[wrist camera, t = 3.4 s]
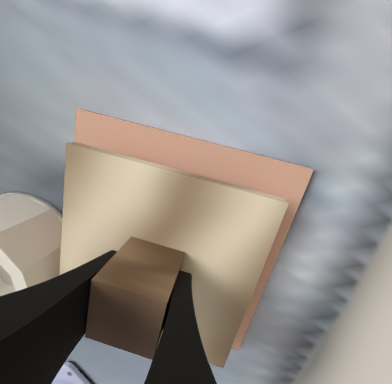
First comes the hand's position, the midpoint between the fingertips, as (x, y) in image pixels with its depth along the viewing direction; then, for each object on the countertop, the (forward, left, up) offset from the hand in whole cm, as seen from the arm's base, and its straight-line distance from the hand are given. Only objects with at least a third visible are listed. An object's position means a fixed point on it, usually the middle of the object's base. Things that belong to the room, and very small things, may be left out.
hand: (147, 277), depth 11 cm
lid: (0, 0, -2) cm, 2 cm away
